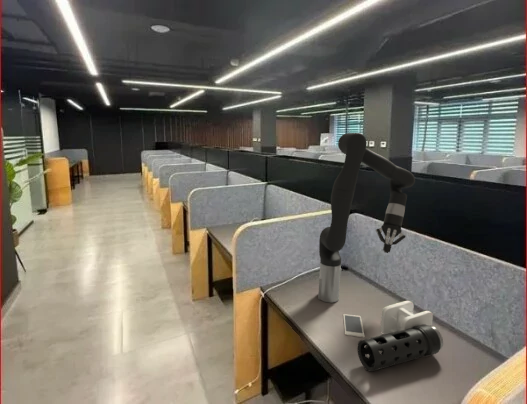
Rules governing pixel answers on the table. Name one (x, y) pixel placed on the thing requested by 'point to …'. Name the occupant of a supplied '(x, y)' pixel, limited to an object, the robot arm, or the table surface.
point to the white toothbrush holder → (402, 317)
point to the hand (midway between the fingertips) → (386, 252)
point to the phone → (353, 325)
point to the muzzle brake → (399, 346)
